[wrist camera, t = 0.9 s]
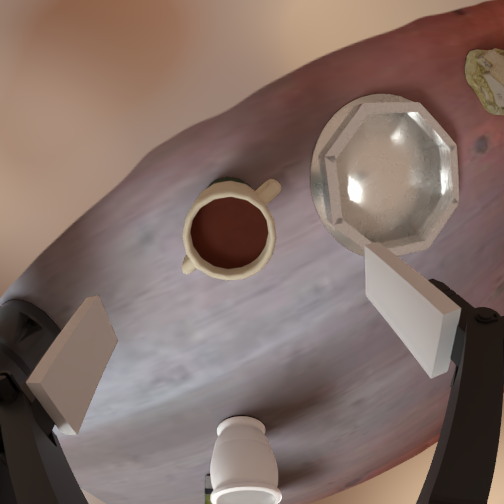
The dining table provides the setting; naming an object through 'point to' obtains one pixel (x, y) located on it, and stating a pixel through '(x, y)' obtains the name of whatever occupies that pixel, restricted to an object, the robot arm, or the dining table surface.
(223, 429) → the jar
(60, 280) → the dining table surface
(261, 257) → the character mug
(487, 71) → the ceramic model
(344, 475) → the dining table surface
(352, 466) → the dining table surface
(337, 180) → the octagonal bowl
